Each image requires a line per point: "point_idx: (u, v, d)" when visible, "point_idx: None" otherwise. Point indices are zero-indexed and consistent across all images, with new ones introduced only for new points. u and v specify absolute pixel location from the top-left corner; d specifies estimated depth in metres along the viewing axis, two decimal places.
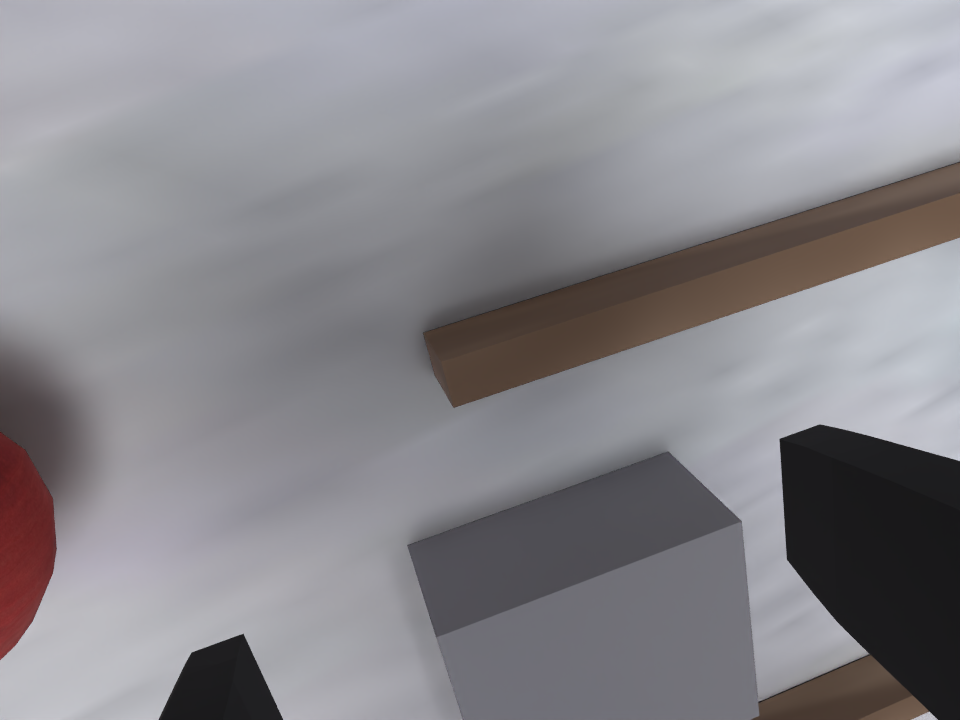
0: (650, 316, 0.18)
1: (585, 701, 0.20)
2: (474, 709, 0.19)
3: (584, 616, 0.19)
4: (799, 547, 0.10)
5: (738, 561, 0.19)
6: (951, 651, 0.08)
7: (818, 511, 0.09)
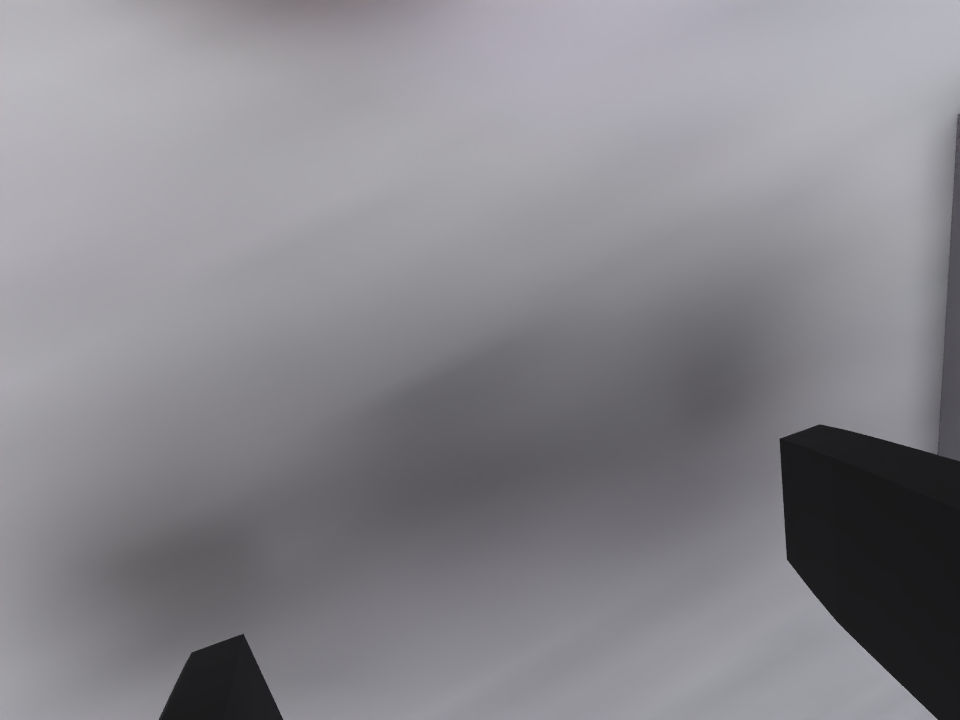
0: None
1: None
2: None
3: None
4: (799, 547, 0.10)
5: None
6: (951, 651, 0.08)
7: (818, 511, 0.09)
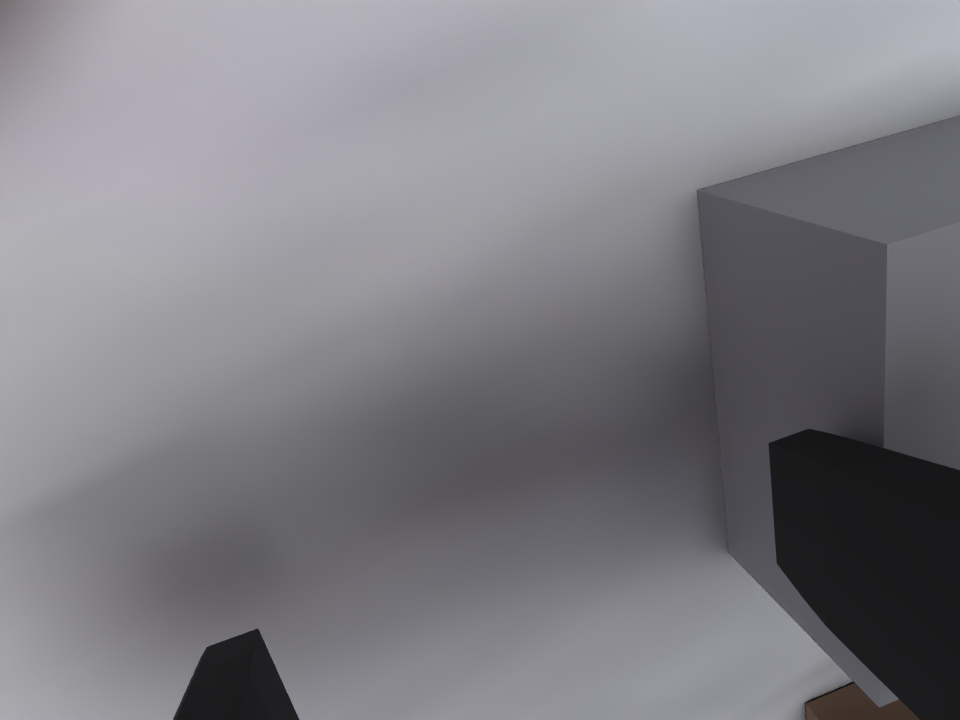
0: None
1: None
2: (907, 441, 0.09)
3: None
4: (788, 551, 0.10)
5: None
6: (938, 657, 0.08)
7: (806, 516, 0.09)
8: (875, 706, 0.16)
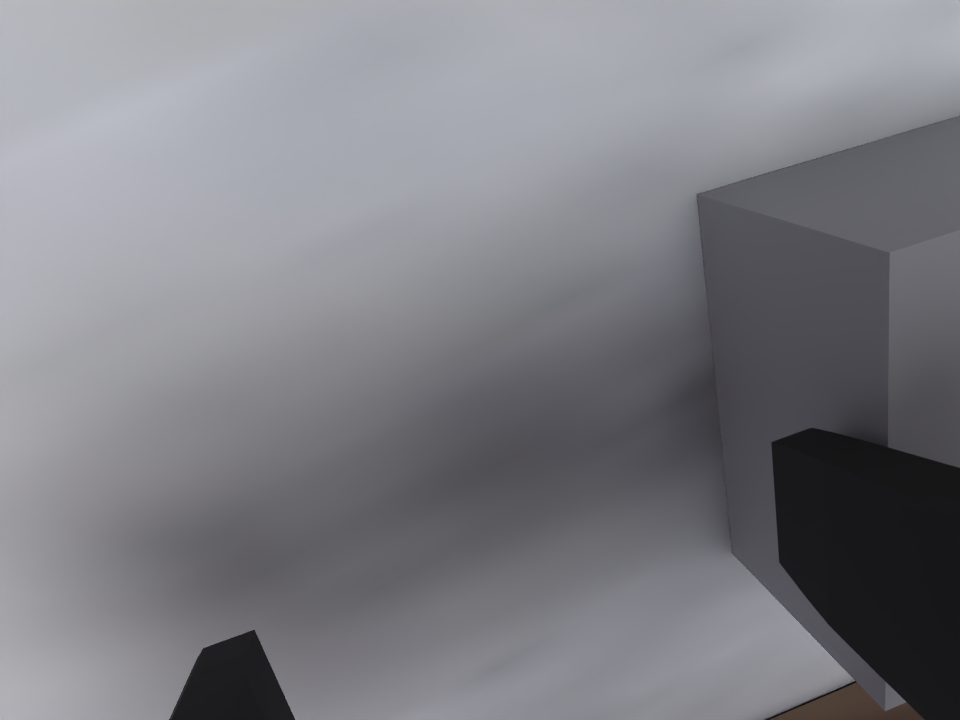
0: None
1: None
2: (911, 446, 0.09)
3: None
4: (791, 550, 0.10)
5: None
6: (941, 655, 0.08)
7: (809, 515, 0.09)
8: None
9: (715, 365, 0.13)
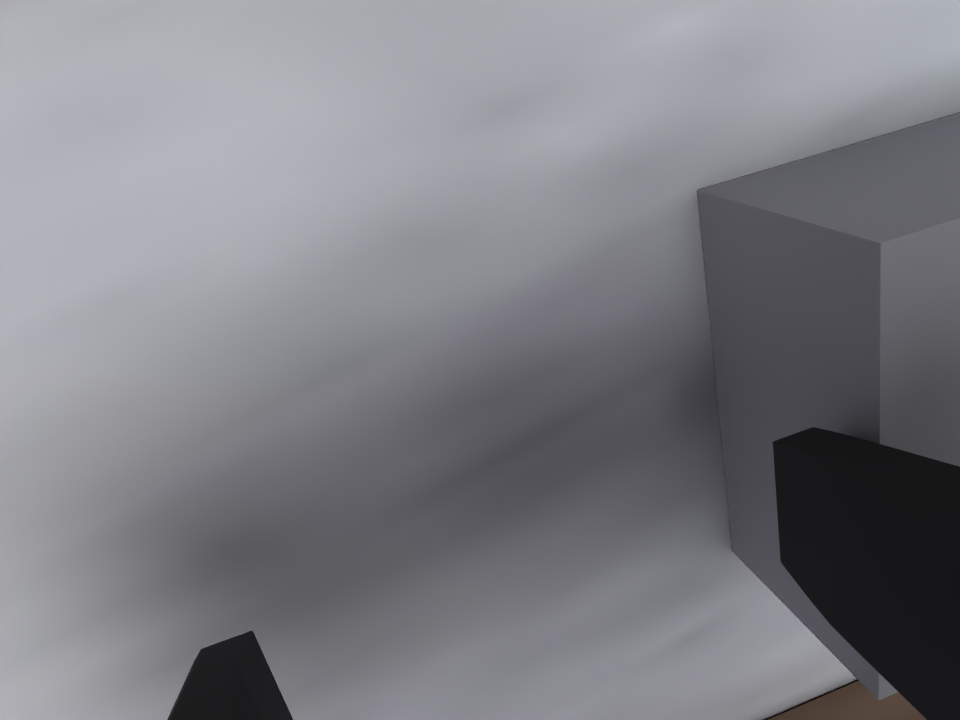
0: None
1: None
2: (903, 436, 0.09)
3: None
4: (792, 550, 0.10)
5: None
6: (943, 655, 0.08)
7: (811, 514, 0.09)
8: None
9: None
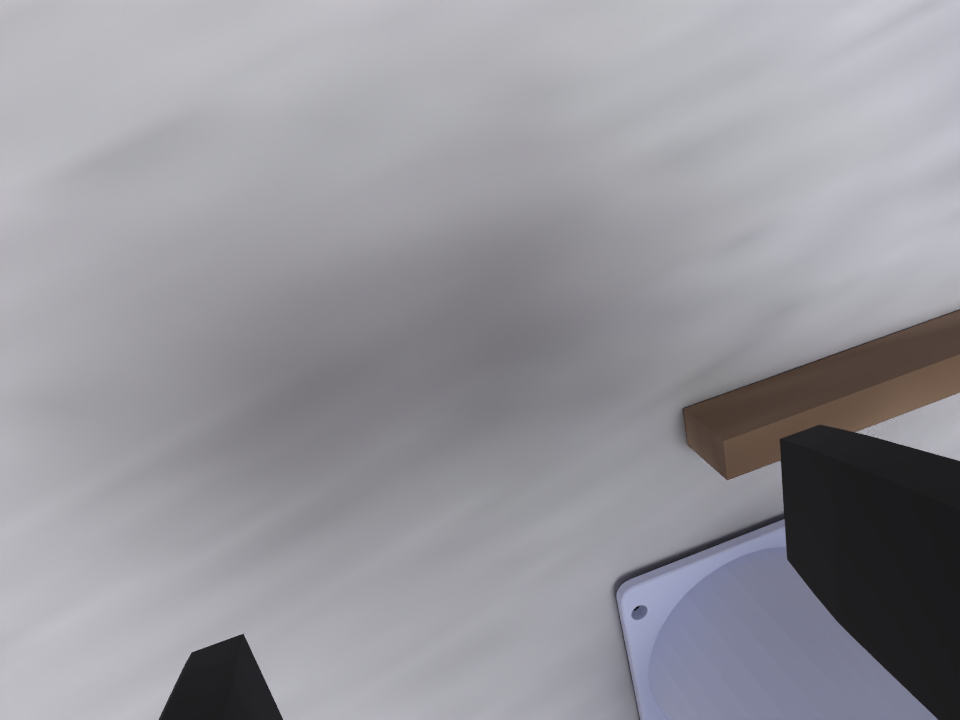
0: None
1: None
2: None
3: None
4: (799, 547, 0.10)
5: None
6: (951, 651, 0.08)
7: (818, 511, 0.09)
8: (735, 404, 0.21)
9: None
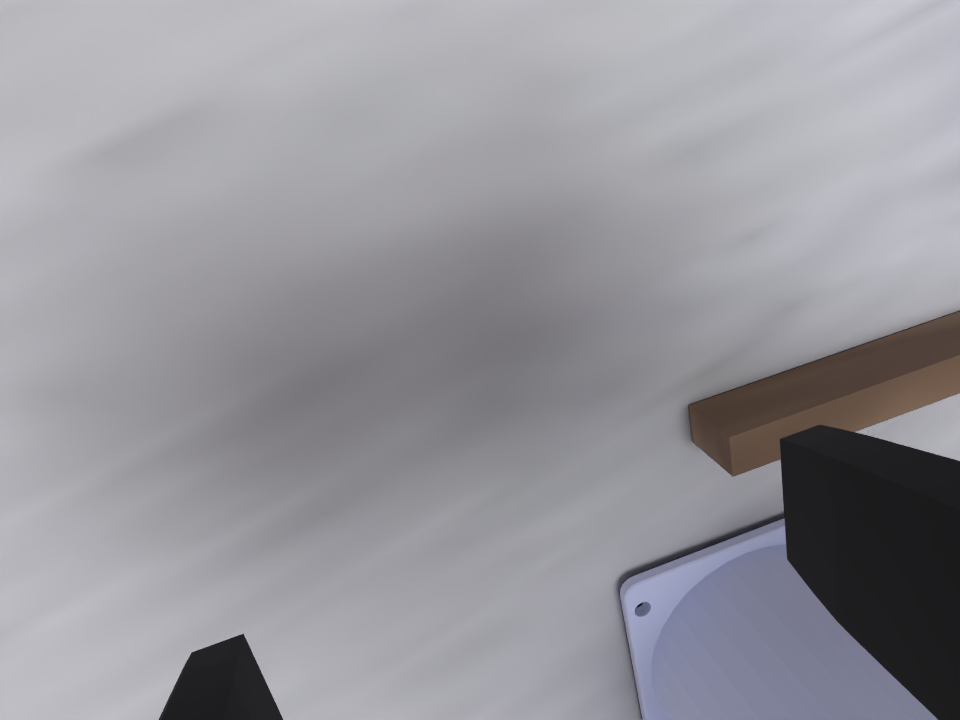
0: None
1: None
2: None
3: None
4: (799, 547, 0.10)
5: None
6: (951, 651, 0.08)
7: (818, 511, 0.09)
8: (741, 401, 0.21)
9: None
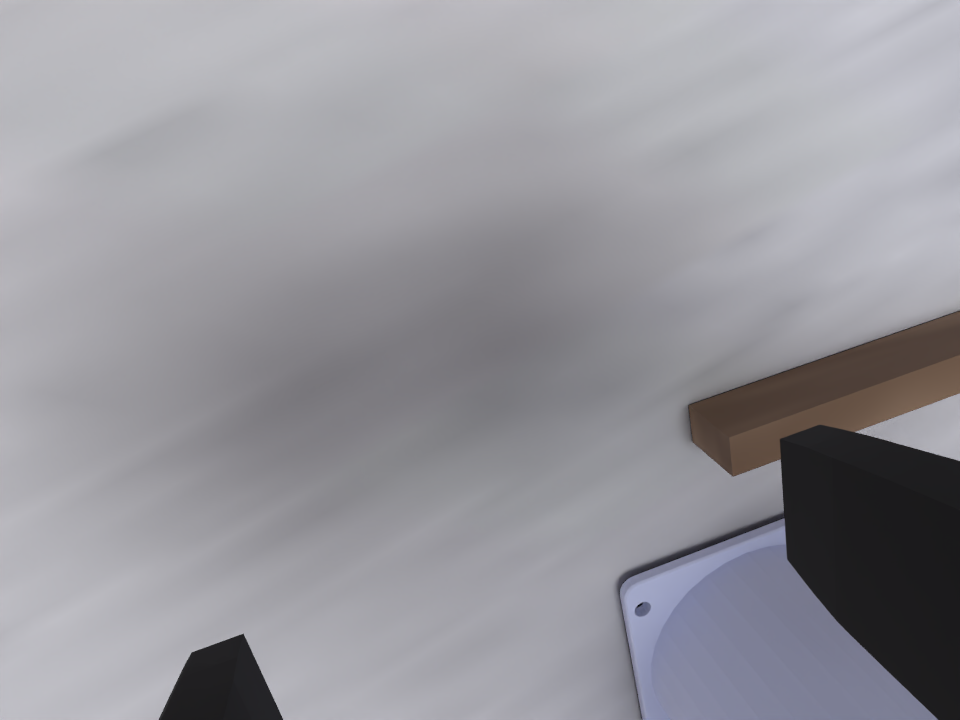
0: None
1: None
2: None
3: None
4: (799, 547, 0.10)
5: None
6: (951, 651, 0.08)
7: (818, 511, 0.09)
8: (741, 401, 0.21)
9: None
